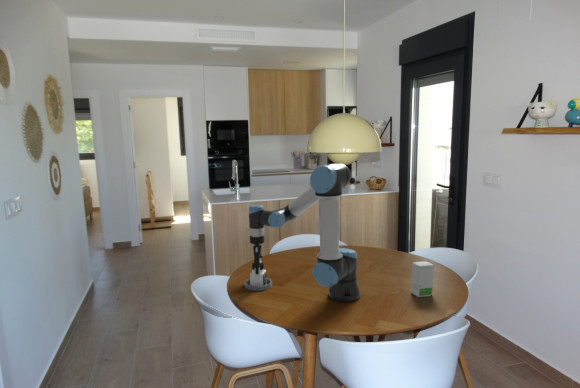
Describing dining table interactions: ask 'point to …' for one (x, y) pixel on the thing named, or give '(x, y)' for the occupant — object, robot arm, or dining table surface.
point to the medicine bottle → (262, 276)
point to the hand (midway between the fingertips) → (258, 275)
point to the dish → (258, 288)
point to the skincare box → (422, 279)
